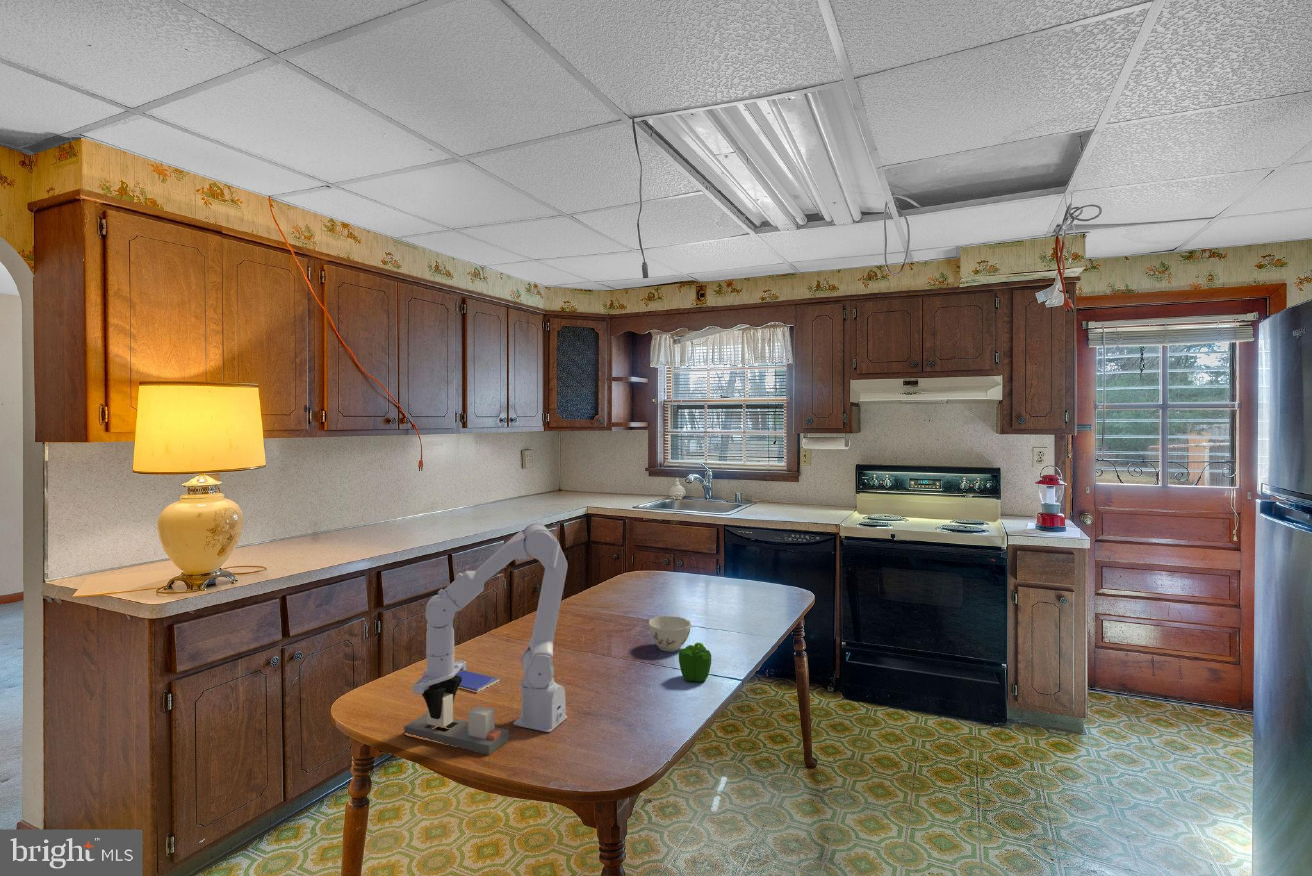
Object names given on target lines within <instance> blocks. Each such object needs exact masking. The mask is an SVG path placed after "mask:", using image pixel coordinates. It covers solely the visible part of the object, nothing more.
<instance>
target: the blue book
mask: <svg viewBox="0 0 1312 876" xmlns="http://www.w3.org/2000/svg"><path fill="white" fill-rule="evenodd" d="M457 676H461V677H462V682H461V683H460V685H459V687H463V688H465V689H470V690H474V691H476V692H478V691H480V690H483V689H485V688H486V687H489V686H490V685H493V684H494V683H496V682H498V681H500V680H501V679H500V678H499V677H494V676H492V675H491V676H489V675H485V674H481V673H477V672H473V671H470V670H469V671H468V670H465V671H460V672H458V673H457ZM500 682H501V681H500ZM498 683H499V682H498ZM493 686H494V685H493ZM489 688H490V687H489ZM485 690H486V689H485ZM483 691H484V690H483Z"/></svg>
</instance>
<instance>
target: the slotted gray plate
mask: <svg viewBox="0 0 1312 876" xmlns="http://www.w3.org/2000/svg"><path fill="white" fill-rule="evenodd" d="M467 716H468V717H467V721H466V720H462V719H457V718H453V722H452V723H450V724H449V725H447V726H445V727H447V728H451V729H449V730H446V731H442V730H437V729H435V730H434V729H432V728H434V727H435V726H434V725H430V724H427V712H426V713H425V714H422V715H420V716H419V717H418V718H416V719H415V720H412V721H411V722H409V723H408V724H406V725H405V726H404V725H403V729H404V730H403V732H404V733H408V734H411V735H416V736H419V737H423V738H428V739H430V740H435V741H438V742H442V743H444V744H449V745H453V746H457V747H460V748H464V749H467V750H466V751H468V750H470V751H469V752H473V751H476V752H475V753H477V752H479V753H478V754H481V753H482V755H486V756H490V755H492V754H493V753H494V752H495V751H497V750H498V749H499V748H501V747H502V746H504V744H506V743H507V742H509V740H510V729H505V728H499V727H496V725H495V708H490V707H485V706H480V705H476V706H475V707H473V708H471V709H470V710H468V711H467ZM505 742H506V743H505ZM500 746H501V747H500ZM460 748H459V749H460ZM464 749H463V750H464ZM496 749H497V750H496ZM493 751H494V752H493ZM491 753H492V754H491Z"/></svg>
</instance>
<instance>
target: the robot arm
mask: <svg viewBox="0 0 1312 876" xmlns="http://www.w3.org/2000/svg"><path fill="white" fill-rule="evenodd" d="M527 554H529V556H530V557H532V558H534V559H536V560H537V561H539V562H540V563H541V565H542V566H543V567H544V571H543V576H542V577H543V578H542V583H541V589H540V593H539V598H538V602H537V603H538V604H537V609H536V613H535V618H534V619H535V620H534V624H533V629H532V635H531V637H530V639H529V640H528V645H527V648H526V650H525V651H524V652H523V654H522V655H521V659H520V662H521V666H522V669H523V672H524V675H523V677H522V679H520V691H521V692H520V698H521V699H520V704H521V705H520V706H521V708H520V709H521V710H520V713H521V714H520V715H521V716H520V717H519V718H518V719H516V720H515V721H513V723H512V724H513V726H516V727H521V728H527V729H531V730H535V731H540V732H545V733H551V732H552V731H553V730H554V729H555V728H557V727H558V726H559V725H560V724H561V723H563V722H564V721H565V720H566V719H567V718H568V715H566V714H567V713H566V690H565V687H564V686H563V685H562V684H561V685H560V684H558V682H555V679H554V675H555V669H554V665H553V659H554V639H555V633H556V628H557V624H558V617H559V613H560V607H561V602H562V597H563V593H564V588H565V583H566V577H567V571H568V560H567V559H566V556H565V554H564V552H563V550H562V548H561V544H560V541H559V540H558V539H557V538H556V537H555V536H554V534H553V533H552V532H551V531H550V530H549V529H548V528H547V527H546V526H545V525H543V524H542V523H538V522H534V523H530V524H528V525H527V526H526V527H524V529H523V531H522V530H520V531H518V532H517V533H516V534H515V535H513V536H512V537H511V538H510V539H509V540H508V541H506V542H505V543H504V544H503V545H502V546H500V548H499V549H497V550H496V552H494V553H493V554H492V555H491V556H490V557H489V558H487V559H486V560H485V561H484V562H483V563H482V564H481V565H480V566H479V567H478V568H476V570H466V571H464V572H463V573H461V572H459V573H457V574H456V575H455V579H454V581H452V582H451V583H450V584H449V585H448V586H446V587H445V588H444V589H442V588H441V589H439V591H438V592H437V594H436V595H433V596H432V597H431V598H430V599H429V600H428V601H427V604H426V606H425V618H426V621H427V623H426V629H427V630H426V633H425V638H426V640H425V643H426V646H425V647H426V654H425V655H426V669H424V670H423V675H422V676H421V677H420V678H419V680H417V681H416V682H414V683H413V684H412V693H413V694H416V695H421V696H422V697H423V699H424V701H425V704H426V707H427V706H428V710H429V713H430V717H431V718H434V719H439V718H440V716H441V708H442V699H443V695H444V693H449V694H453V703H454V702H455V699H456V695H457V692H458V689H459V688H458V687H459V685H460V683H461V682H462V677H461V676H457V673H458V672H460V671H467V661H465V660H461V659H458V660H457V661H456V660H455V629H454V626H453V621H454V618H455V617H456V616H455V614H456V613H457V612H460V611H461V610H463V609H464V608H465V607H467V605H468V604H470V603H471V602H472V601H473V600H475V598H476V597H477V596H479V595H480V594H481V593H483V591H484V588H485V583H486V582H487V581H488V580H489V579H491V578H492V577H493V576H494V575H496V574H497V573H499V572H500V571H502V569H503V568H504V567H506V566H507V565H509V563H511V562H512V561H515V560H524V559H525V560H526V559H528V556H527Z"/></svg>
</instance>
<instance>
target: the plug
mask: <svg viewBox="0 0 1312 876" xmlns="http://www.w3.org/2000/svg"><path fill="white" fill-rule="evenodd" d="M426 713H427V724H430V725H434V726H439V727H443V728H444V727H445V726H447V725H449V724H450V723H452V722H453V719H454V702H453V694H449V693H444V695H443V699H442V708H441V716H440V718H439V719H434V718H431V717H430V713H429V710H428V706H427V705H426Z"/></svg>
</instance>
